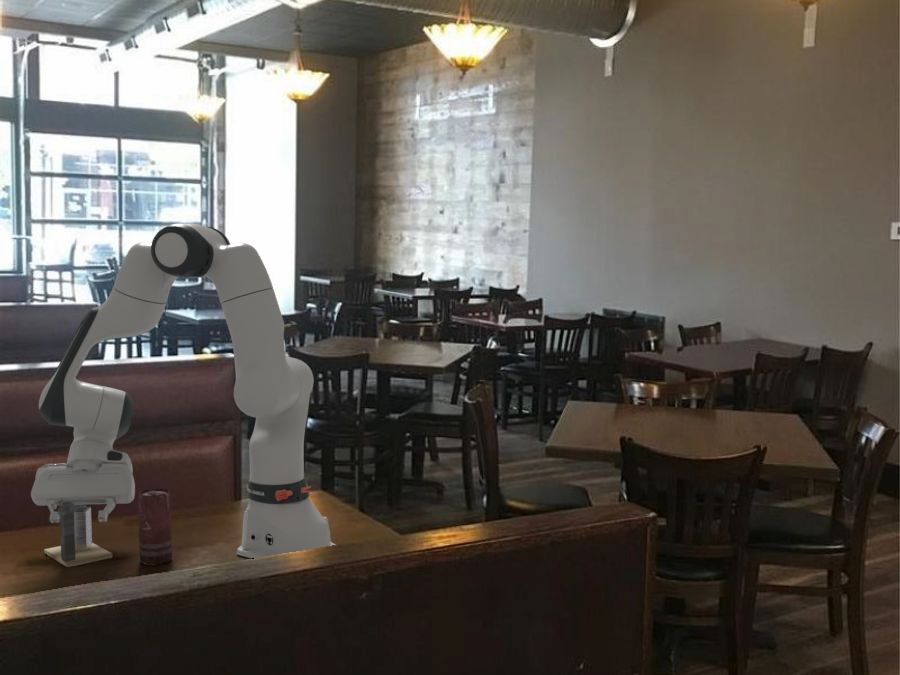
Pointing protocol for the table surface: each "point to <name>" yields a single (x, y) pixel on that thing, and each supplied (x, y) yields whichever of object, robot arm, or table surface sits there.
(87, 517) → the grey square pillar
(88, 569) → the table surface
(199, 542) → the table surface
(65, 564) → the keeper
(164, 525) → the can
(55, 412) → the robot arm
